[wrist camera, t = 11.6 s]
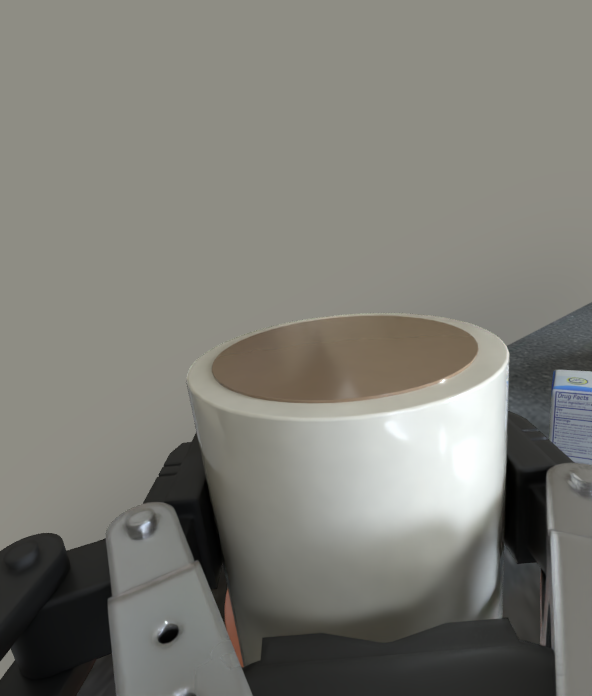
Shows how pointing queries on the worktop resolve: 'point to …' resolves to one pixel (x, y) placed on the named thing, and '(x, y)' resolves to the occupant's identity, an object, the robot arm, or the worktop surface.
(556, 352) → the worktop surface
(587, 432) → the medicine box
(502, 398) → the cream cup
